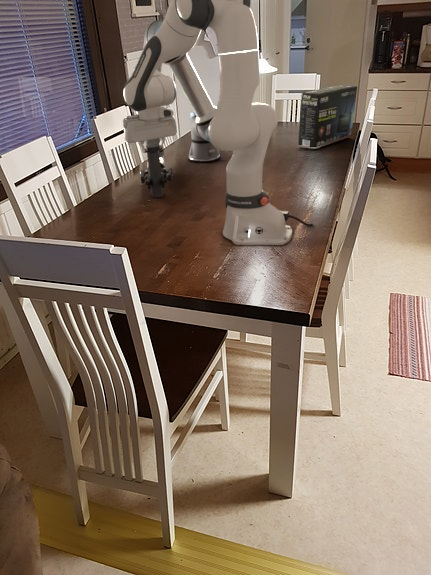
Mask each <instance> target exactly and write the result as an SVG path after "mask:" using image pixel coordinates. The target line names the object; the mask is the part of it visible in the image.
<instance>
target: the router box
mask: <svg viewBox="0 0 431 575" xmlns="http://www.w3.org/2000/svg"><path fill="white" fill-rule="evenodd" d="M357 93H358V86H356V85H350V84H339V85H338V84H337V85H334V86H328V87H324V88H318V89H314V90H309V91H304V92H301V93H300V109H299V110H300V111H299V124H298V137H297V146H298V145H302V146H307V147H317V146H320V145H323V144H325V143H328V142H331V141H333V140H336V139H338V138H341V137H344V136H347V135H351V136H352V133H353V132H352V131H353V125H354V115H355V109H356V99H357ZM311 151H313V150H312V149H311Z"/></svg>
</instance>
